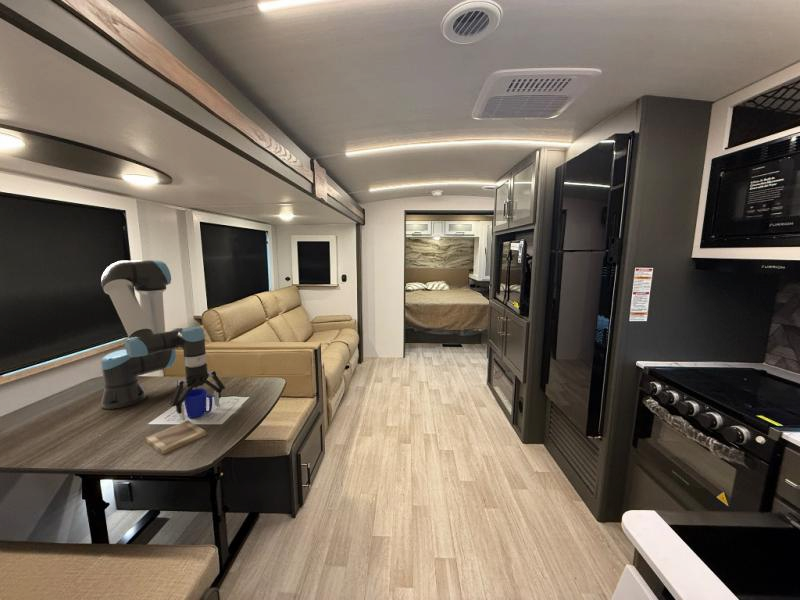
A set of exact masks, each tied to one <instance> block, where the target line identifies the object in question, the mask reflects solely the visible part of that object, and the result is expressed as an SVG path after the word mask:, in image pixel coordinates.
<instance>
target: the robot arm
mask: <svg viewBox="0 0 800 600" xmlns="http://www.w3.org/2000/svg"><path fill="white" fill-rule="evenodd" d="M100 283H101V287H102V290H103V292H104V293H105V294H106V295H109V298H110V300H111V301H112V304H113V306H114V308H115V310H116V313H117V315H118V318H119V319H120V321H121V323H122V326H123V327H124V331H125V332H126V334H127V336H128V338H127V339H125V341H124V347H125V349H120V350H115V351H113V352H110V353H108V354H106V355H104V356H103V357H102V359H101V360H100V362H101V368H100V369H101V371H102V378H103V385H104V391H103V395H102V398H101V401H100V402H101V403H100V404H101V408H102V407H103V408H102V409H105V410H113V409H114V410H115V408H116V409H122V408H125V407H129V405H130V406H132V405H135V404H137V403H140V402H141V401H143V400H144V399H145V398H146V391H145V389H144V388H143V386H142V385H141V383H140V382H139V376H143V375H147V374H149V373H155V372H159V371H164V370H165V369H168V368H171V367H172V366H173V365H175V362H176V358H177V352H176V349H180V348H182V349H183V358H184V366H185V367H184V370H185V379H183V380H181V379H178V380H177V382H176V383H177V384H176V387H175V390H174V392H173V395H172V398H171V400H170V402H169V405H170V406H171V407H175V409H176V413H177V414H179V420H181V421H182V422H185V421H186V414H185V404H183V403H184V400H185V399H186V397H187V395H188V394H189V392H190V391H191V390H194V389H197V388H198V387H201V386H204V385H207V386H208V387H210V388H211V389H213V390H214V391H213V400H214V401H213V402H214V406H215V407H217V408H219V407H220V404H221V403H220V399H221V398H222V395H221V393H222V391H223V390H225V385H224V384H223V382H222V381H221V380H220V378H219V377H218V376H217V372H216V371H215V370H213V369H212V370H210V371H208V364H207V353H206V338H205V335H206V334H205V331H204V328H203V327H201V326H189V327H184V328H183V327H177V328H172V330H169V331H166V325H165V323H166V322H165V321H166V320H165V309H164V308H165V307H164V296H163V295H164V292H165V291H166V290H167V286H169V285H171V283H172V275H171V271H170V269H169V267H168V265H167V264H166V263H165V262H164V261H162V260H156V259H155V260H153V259H150V260H149V259H148V260H118V261H116V262H114V263H111V264H110V265H109V266H107V267H106V269H105V270H104V271H103V273H102V275H101V280H100ZM133 289H134V290H133ZM134 291H135V292H137V293H138V294H139V300H138V299H137V296H136V295H135V292H134ZM209 377H211V378H212V380H213V381H214V382H215V384H216V385H217V386H216V385H215V384H213V383H212V382H211V381H209V380H208V378H209ZM184 387H185V388H184ZM183 388H184V389H183Z"/></svg>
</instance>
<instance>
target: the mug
mask: <svg viewBox="0 0 800 600" xmlns="http://www.w3.org/2000/svg"><path fill="white" fill-rule="evenodd" d="M207 399H208V400H209V405H208V409H207ZM213 400H214V398H213V395H209V394H207V389H205V388H193V389H192V390H191V391H190V392H189V394H188V395H187V397H186V399H185V400H184V402H183V403H184V409H185V411H186V415H187V417H188V418H191V419H195V418H200V417H202V416H204V415H205V414H208V413H210V412H211V411H212V409H213V402H214V401H213Z"/></svg>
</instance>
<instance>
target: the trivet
mask: <svg viewBox="0 0 800 600" xmlns="http://www.w3.org/2000/svg"><path fill="white" fill-rule="evenodd" d="M206 435H207V431H206V430H205V429H203V428H201V427H200V426H198V425H197V424H195V423H193V422H192V421H190V420H189V419H188V420H185V421H182V422H180V423H178V424H176V425H172V426H170V427H168V428H165V429H163V430H160V431H159V432H155V433H153V434H151V435H149V436H146V437H145V442H147V443H148V444H149V445H150V446H151V447H153V449H155V450H156V451H158V453H160V454H161V455H165V454H168V453H169V452H171V451H174V450H176V449H178V448H180V447H182V446H185V445H187V444H190V443H191V442H193V441H196V440H198V439H200V438H202V437H205V436H206Z"/></svg>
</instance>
